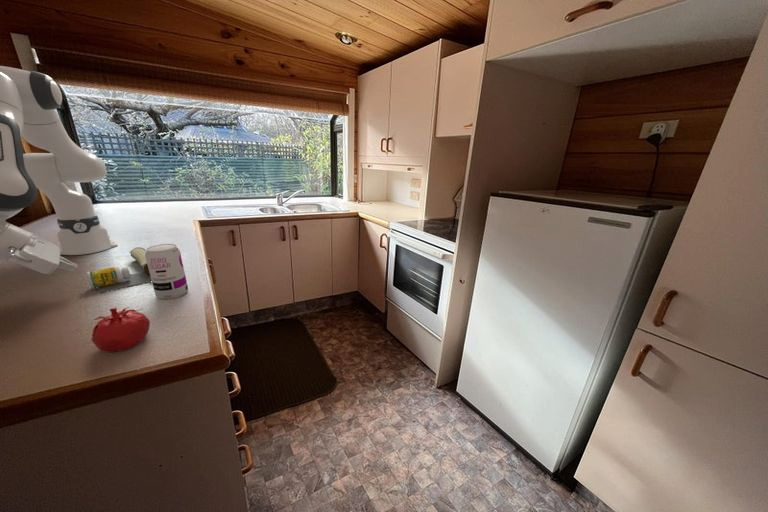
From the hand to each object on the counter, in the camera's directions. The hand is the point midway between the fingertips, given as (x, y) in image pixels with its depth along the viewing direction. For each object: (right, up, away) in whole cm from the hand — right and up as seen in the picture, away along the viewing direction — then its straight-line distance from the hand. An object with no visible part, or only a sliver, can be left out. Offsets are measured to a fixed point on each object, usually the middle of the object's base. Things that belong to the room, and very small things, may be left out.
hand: (75, 268), depth 88 cm
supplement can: (+27, -8, +2) cm, 29 cm away
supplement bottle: (+1, -4, +2) cm, 5 cm away
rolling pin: (+4, -1, +21) cm, 21 cm away
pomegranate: (+33, -16, -20) cm, 42 cm away
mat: (+8, -4, +11) cm, 14 cm away
